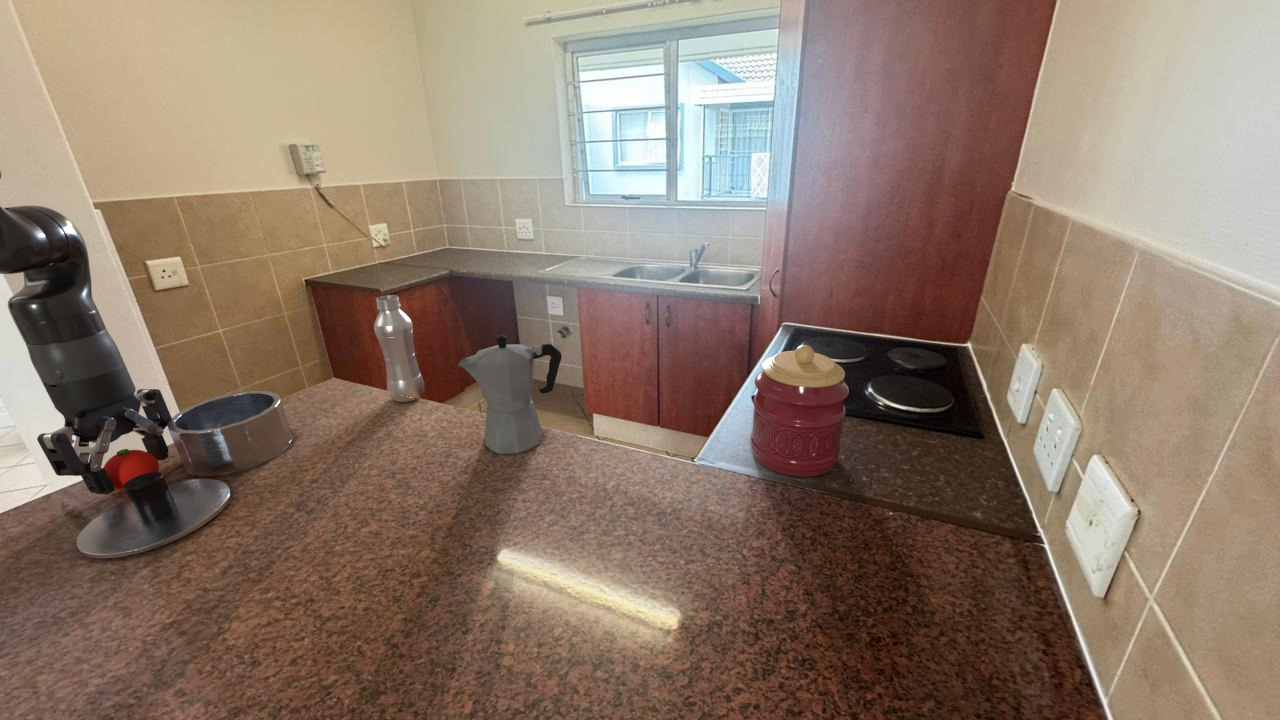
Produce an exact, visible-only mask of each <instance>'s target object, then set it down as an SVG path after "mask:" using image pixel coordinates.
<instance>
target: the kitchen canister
mask: <svg viewBox="0 0 1280 720" xmlns="http://www.w3.org/2000/svg"><path fill="white" fill-rule="evenodd" d="M761 370H762V371H760V372H759V373H757V375H756V376H755V377H754V385H755V388H756V389H757V392H756V394H755V395H754V397H753V400H752V402H753V403H752V404H753V413H752V414H753V415H752V426H751V427H752V428H751V432H750V439H749V443H750V449H751V453H752V456H753V457H754V458H755V460H756V461H757V462H758V463H759V464H761V465H762V466H764V467H765V468H766V469H768V470H771V471H772V472H773V471H774V472H776V473H777V474H778V473H779V474H782V475H786V476H791V477H801V478H804V477H805V478H807V477H808V478H809V477H816V476H821V475H824V474H826V473H828V472H830V471H831V470H832V469H834V467H835V466H836V464H837V462H838V461H837V460H838V459H839V457H840V452H841V438H842V430H843V425H844V424H843V423H844V419H845V416H846V413H847V412H846V406H845V405H844V400H845V399H847V397H848V396H849V394H850V388H849V385H848V384H847V383H846V381H845V380H844V379H845V377H846V372H845V370H844V368H843V367H842V366H841V365H840V364H838V363H836V362H835V361H834V360H833V359H832V358H831V357H828V356H826V355H824V354H821V353H818V352H815V351H814V349H813V348H812V347H811V346H810V345H807V344H801V345H799V346H798V347H797V348H796V349H795V350H787V351H782V352H778V353H777V354H775V355H773V356H770V357H769V358H766V359H765V360H764V361H763V362H762V364H761Z"/></svg>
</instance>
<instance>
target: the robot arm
mask: <svg viewBox="0 0 1280 720" xmlns="http://www.w3.org/2000/svg"><path fill="white" fill-rule="evenodd" d="M1 178H2V171H1V169H0V180H1ZM15 274H16V275H17V274H23V281H24V284H23V287H22V288H21V289H20V290H19V291H18V292H16V293H15V294H14V295H12V296H11V297H9V299H8V301H7V308H8V311H9V314H10V316H11V318H12V320H13V322H14V324H15V326H16V328H17V330H18V332H19V335H20V336H21V338H22V341H23V342H24V343H25V346H26V348H27V352H28V355H29V358H30V361H31V364H32V366H33V368H34V370H35V372H36V373H37V375H38V378H39V380H40V381H41V383H42V385H43V387H44V389H45V391H46V393H47V395H48V398H49V399H50V401H51V402H52V405H53V406H54V408H55V410H56V411H58V413H60V414H61V416H63V418H64V425H63V427H61V428H59V429H57V430H55V431H53V432H48V433H47V432H44V433H40V434H39V435H38V436H37V438H36V440H37V442H38V444H39V447H40V448H41V450H42V452H43V454H44V455H45V457H46V459H47V460H48V462H49V465H50V466H51V468H52V470H53V471H54V473H55V475H56V476H59V477H64V476H67V477H68V476H73V477H79V476H80V477H81V478H82V481H83V482H84V484H85V487H86V488H87V490H88V491H89V492H90V493H91V494H96V495H110V494H111V493H113V492H114V491H115V490H116V489H115V488H114V486H113V484H112V482H111V480H110V478H109V476H108V474H107V472H106V470H105V468H103V467H102V465H103V460H104V455H105V454H106V453H108V452H109V449H110V445H111V443H113V442H115V441H117V440H118V439H120V438H121V437H122V436H125V435H128V434H130V433H132V432H133V433H135V434H137V435H139V436H140V437H141V436H142V437H141V442H142V444H143V446H144V449H145V451H146V452H148V453H150V454H152V455H153V456H154V457H155V458H156V459H157V461H165V460H166V459H168V458H169V446H168V445H167V443H166V440H165V438H164V436H163V434H164V430H165V429H166V428H168V422H169V421H170V420H171V419H172V418H173V417H172V415H171V413H170V411H169V408H168V406H167V403H166V401H165V399H164V396H163V394H162V392H161V390H160V389H158V388H140V389H138V390H137V388H136V385H135V384H134V381H133V378H132V377H131V375H130V373H129V370H128V368H127V366H126V364H125V360H124V359H123V357H122V355H121V352H120V350H119V348H118V345H117V343H116V342H115V340H114V339H113V337H112V336H111V334H110V333H109V331H108V329H107V328H106V325H105V322H104V320H103V318H102V316H101V313H100V312H99V309H98V307H97V305H96V303H95V301H94V299H93V293H92V276H91V275H92V274H91V267H90V258H89V253H88V248H87V245H86V241H85V239H84V236H83V235H82V233H81V232H80V230H79V228H77V226H76V225H75V224H74V223H73V222H72V221H71V220H70V219H69V218H68V217H67V216H65V215H64V214H62V213H61V212H59V211H57V210H55V209H52V208H50V207H47V206H43V205H19V206H10V207H9V206H8V207H3V206H2V204H0V275H15ZM136 390H137V391H136ZM135 393H136V394H135ZM141 408H142V411H143V412H144V415H145V416H144V415H142V414H140V409H141ZM73 436H74V437H75V440H74V439H73ZM90 443H94V445H93V446H90ZM73 444H74V446H73Z"/></svg>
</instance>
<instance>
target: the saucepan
mask: <svg viewBox="0 0 1280 720" xmlns="http://www.w3.org/2000/svg"><path fill="white" fill-rule="evenodd" d="M285 411H286V410H285V409H284V405H283V402H282V399H281V397H280V396H279V393H276V392H271V391H269V390H265V391H264V390H250V391H243V392H235V393H230V394H225V395H222V396H218V397H214V398H210V399H207V400H205V401H202V402H200V403H196V404H194V405H191V406H189V407H188V408H186V409H184V410H182V411H180V412H178V413H176V414H175V415H174V416H173V417H172V419H171V420H170V421H169V422H168V426H167V430H168V433H169V435H170V437H171V439H172V441H173V443H174V447H175V449H176V451H177V453H178V456H179V458H180V460H181V462H182V465H183V467H184V469H185V471H186V472H187V473H188V474H190V475H192V476H195V477H203V478H207V477H208V478H209V477H210V478H212V477H221V476H226V475H233V474H236V473H239V472H244V471H247V470H249V469H252V468H256V467H257V466H260V465H263V464H264V463H266V462H269V461H270V460H273V459H274V458H276V457H278V456H279V455H280V454H282V453H283V452H285V451H286V450H287V449H288V447H290V446H291V444H292V442H293V437H294V436H293V433H292V430H291V428H290V424H289V419H288V418H287V414H286V412H285ZM218 425H219V426H218Z"/></svg>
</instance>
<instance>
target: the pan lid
mask: <svg viewBox="0 0 1280 720" xmlns="http://www.w3.org/2000/svg"><path fill="white" fill-rule="evenodd" d="M123 488H124V490H123V491H124V492H125V494H126V496H127V498H128V499H125V500H123V501H120V502H119V503H117V504H115V505H113V506H111V507H110V508H108V509H107V510H105V511H104V512H102V513H100V514H99V515H98V516H96V517H95V518H93V519H92V520H91V521H90V522H89V523H88V524H87V525H85V526H84V528H83V529H82V530H81V531H80V533H79V534H78V536H77V539H76V547H77V549H78V551H79V552H80V553H81V554H82V555H83V556H85V557H88V558H92V559H101V560H103V559H115V558H116V559H117V558H123V557H128V556H133V555H137V554H141V553H144V552H147V551H151V550H154V549H157V548H159V547H162V546H166V545H167V544H169V543H173V542H174V541H177V540H179V539H181V538H183V537H186V536H187V535H190V534H191V533H192V532H195V531H196V530H198V529H200V528H201V527H203V526H204V525H206V524H207V523H209V522H210V521H211V520H213V519H214V518H215V517H217V516H218V515H219V514H220V513H221V512H222V511H223V510H224V509H225V508H226V506H227V505H228V504H229V501H230V500H231V495H232V492H231V489H230V487H229V485H228V484H227V483H226V482H225V481H222V480H219V479H213V478H195V479H188V480H182V481H178V482H177V481H176V482H173V483H169V484H168V483H167V481H166V480H165V477H164V475H163V473H162V472H160V471H158V472H150V473H146V474H142V475H139V476H137V477H134V478H132V479H131V480H129V481H127V482H126V483H125V484H124V486H123Z"/></svg>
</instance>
